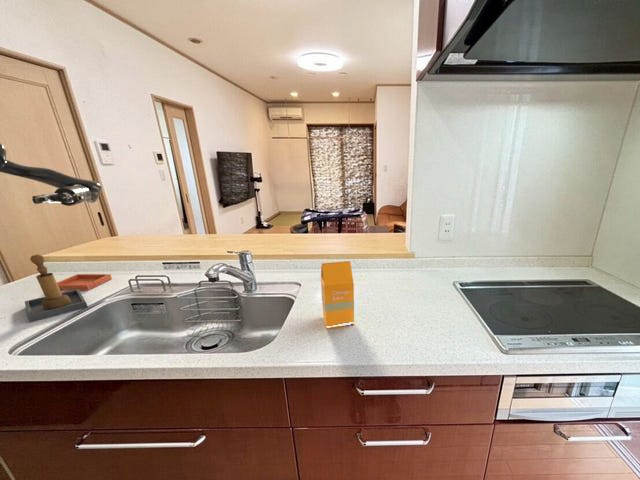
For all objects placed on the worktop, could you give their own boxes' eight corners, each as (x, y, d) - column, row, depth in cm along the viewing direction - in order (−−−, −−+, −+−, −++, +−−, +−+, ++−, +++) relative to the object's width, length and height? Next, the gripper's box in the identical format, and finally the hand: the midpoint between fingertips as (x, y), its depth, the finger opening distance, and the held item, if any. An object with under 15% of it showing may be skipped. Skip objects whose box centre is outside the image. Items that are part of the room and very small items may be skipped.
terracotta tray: (52, 290, 113) (50, 285, 113) (79, 278, 124) (77, 274, 123) (88, 290, 114) (86, 285, 113) (112, 278, 124) (110, 274, 124)
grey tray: (27, 306, 101) (24, 301, 100) (80, 294, 111) (78, 288, 110) (30, 322, 92) (27, 316, 91) (87, 307, 101) (85, 301, 100)
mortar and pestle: (70, 298, 105) (50, 250, 99) (71, 305, 101) (50, 255, 94) (44, 304, 101) (21, 254, 94) (43, 311, 97) (19, 259, 90)
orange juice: (354, 325, 92) (353, 265, 85) (326, 329, 90) (323, 268, 82) (348, 313, 99) (347, 257, 92) (322, 316, 97) (319, 259, 89)
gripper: (46, 187, 124) (20, 191, 110) (88, 186, 129) (68, 190, 114) (53, 205, 127) (29, 211, 113) (94, 203, 131) (75, 209, 117)
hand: (49, 200), depth 114 cm, fingers open, 8 cm apart
